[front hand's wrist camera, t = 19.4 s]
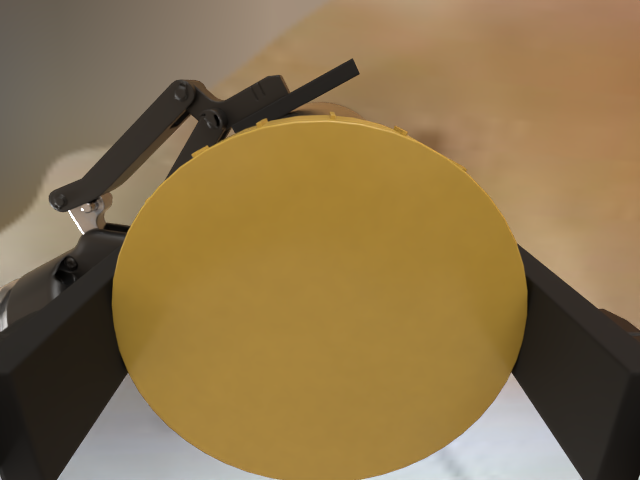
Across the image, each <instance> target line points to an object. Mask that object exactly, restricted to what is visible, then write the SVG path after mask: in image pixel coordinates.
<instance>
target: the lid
mask: <svg viewBox="0 0 640 480" xmlns="http://www.w3.org/2000/svg"><path fill="white" fill-rule="evenodd" d="M407 133H408V132H407V131H405V130H403V129H401V128H399V127H397V126H395V127H394V129H392V128H389V127H386V126H384V125H381V124H378V123H374V122H370V121H365V120H361V119H357V118H352V117H342V116H336V115H335V113H334V112H329V115H310V116H295V117H289V118H284V119H278V120H272V121H269V122H268V121H267V118H266V119H263V120H261V121H259V122H258V123H256V126H253V127H250V128H247V129H244V130H242V131H240V132H238V133H236V134H234V135H232V136H230V137H228V138H226V139H224V140H222V141H220V142H218V143H216V144H215V145H213V146H211V147H208V146H205V147H203V148H202V149H200V150H198V151H196V152H194V153H193V154H192V157H193V158H192V159H191V160H189V161H188V162H187V163H185V164H184V165H182V166H181V167H179V168H178V169H177V170H176V171H175V172H174V173H173V174H172V175H171V176H170V177H168V178H167V179H166V180H165V181H164V182H163V183H162V184H161V185H160V186H159V187H158V188H157V189H156V190H155V192H154V193H153V194H152V195H151V197H149V198H148V199H146V201H145V204H144V205H143V207H142V208H141V209H140V211H139V213H138V215H137V216H136V218H135V220H134V221H133V223H132V225H131V227H130V228H129V230H128V232H127V235H126V237H125V240H124V242H123V245H122V248H121V250H120V253H119V255H118V260H117V265H116V269H115V274H114V278H113V291H112V314H113V323H114V329H115V333H116V338H117V343H118V347H119V351H120V354H121V356H122V359H123V361H124V364H125V366H126V369H127V371H128V373H129V375H130V377H131V379H132V380H133V382H134V384H135V386H136V387H137V389H138V391H139V392H140V394H141V395H142V396H143V398H144V399H145V400H146V402H147V403H148V404H149V406H150V407H151V408H152V410H153V411H154V412H155V413H156V414H157V415H158V416H159V417H160V418H161V419H162V420H163V421H164V422H165V423H166V424H167V425H168V426H169V427H170V428H171V429H172V430H173V431H175V432H176V433H177V434H178V435H180V436H181V437H182V438H183V439H184V440H186V441H187V442H189V443H190V444H192V445H193V446H195V447H196V448H198V449H199V450H201V451H203V452H204V453H206V454H208V455H210V456H212V457H214V458H216V459H218V460H220V461H222V462H224V463H226V464H228V465H231V466H233V467H236V468H239V469H241V470H244V471H246V472H250V473H253V474H257V475H261V476H265V477H268V478H274V479H280V480H361V479H366V478H370V477H374V476H379V475H383V474H386V473H389V472H392V471H395V470H398V469H401V468H404V467H407V466H409V465H411V464H413V463H415V462H418V461H420V460H422V459H424V458H426V457H428V456H430V455H431V454H433V453H435V452H437V451H438V450H440V449H442V448H443V447H445V446H446V445H448V444H449V443H451V442H452V441H453V440H455V439H456V438H457V437H459V436H460V435H461V434H463V433H464V432H465V431H466V430H467V429H468V428H469V427H470V426H471V425H472V424H474V423H475V422H476V421H477V420H478V419H479V418H480V417H481V416H482V414H483V413H484V412H485V411H486V410H487V409H488V407H489V406H490V405H491V404H492V403H493V401H494V400H495V399H496V397H497V396H498V394H499V393H500V391H501V389H502V388H503V386H504V385H505V383H506V382H507V380H508V378H509V376H510V373H511V371H512V369H513V367H514V365H515V363H516V361H517V358H518V354H519V351H520V348H521V345H522V341H523V336H524V331H525V325H526V320H527V284H526V278H525V271H524V265H523V262H522V259H521V255H520V252H519V249H518V246H517V243H516V240H515V238H514V236H513V234H512V232H511V230H510V228H509V226H508V224H507V222H506V220H505V218H504V216H503V215H502V214H501V212H500V211H499V209H498V208H497V207H496V205H495V204H494V202H493V201H492V199H491V198H490V197H489V195H488V194H487V193H486V192H485V191H484V190H483V189H482V188H481V187H480V186H479V185H478V184H477V183H476V182H475V181H474V180H473V179H472V178H471V176H470V175H468V174H467V173H466V171H467V169H466V168H464V167H463V166H461V165H459V164H458V163H456V162H454V161H452V160H451V159H448V158H446V157H445V156H443V155H441V154H440V153H438V152H436V151H435V150H433V149H431V148H429V147H428V146H426V145H424V144H422V143H420V142H419V141H417V140H415V139H413V138H412V137H410V136H408V135H407Z"/></svg>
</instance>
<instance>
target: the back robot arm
mask: <svg viewBox="0 0 640 480" xmlns="http://www.w3.org/2000/svg"><path fill="white" fill-rule="evenodd" d="M357 75H359V71H358V69H357V67H356V65H355V63H354V60H353V58H352V59H350V60H349V61H347V62H345V63H343V64H341V65H340V66H338V67H336V68H334V69H332V70H331V71H329V72H327V73H325V74H323V75H322V76H320V77H318V78H316V79H314V80H313V81H311V82H309V83H307V84H305V85H304V86H302V87H300V88H298V89H296V90H295V91H293V92H291V93H290V91H289V89H288V87H287V85H286V83H285V81H284V79H283V77H282V76H281V75H275V76H268V77H266V78H264V79H262V80H260V81H259V82H257V83H255V84H253V85H252V86H250V87H248V88H246V89H245V90H243V91H241V92H239V93H238V94H236V95H234V96H232V97H231V98H229V99H227V100H225V101H224V100H220V99H218V98H216V97H215V96H214V95H212V94H211V93H210V92H209V91H208V90H207V89H206V87H205V86H204V84H203V83H201V82H200V81H196V80H176V81H174V82H173V83H172V84H171V85H170V86H169V87H168V88H167V89H166V90H165V91H164V92H163V93H162V94H161V95H160V96H159V97H158V98H157V100H156V101H155V102H154V103H153V104H152V105H151V106H150V107H149V108H148V109H147V110H146V111H145V112H144V113H143V114H142V115H141V116H140V118H139V119H138V120H137V121H136V122H135V123H134V124H133V125H132V126H131V127H130V128H129V129H128V130H127V131H126V132H125V133H124V135H123V136H122V137H121V138H120V139H119V140H118V141H117V142H116V143H115V144H114V145H113V146H112V147H111V148H110V149H109V150H108V151H107V153H106V154H105V155H104V156H103V157H102V158H101V159H100V160H99V161H98V162H97V163H96V164H95V165H94V166H93V167H92V168H91V169H90V171H89V172H88V173H87V174H86V175H85V176H84V177H83V178H82V179H80V180H78V181H75V182H73V183H70V184H68V185H66V186H63V187H61V188H59V189H56V190H54V191H52V192H51V193H50V195H49V202H50V205H51V206H52V207H53V208H54V209H55V210H57V211H59V212H67V211H69V213H70V214H71V216H72V218H73V219H74V221H75V222H76V224H77V226H78V227H79V229H80V230H81V232H82V234H83V235H82V236H81V237H80V239H79V241H78V243H77V245H76V246H75V248H73V249H71V250H69V251H68V252H66V253H64V254H62V255H60V256H58V257H56V258H55V259H53V260H51V261H49V262H47V263H45V264H43V265H42V266H40V267H38V268H36V269H34V270H32V271H31V272H29V273H27V274H25V275H24V276H23V277H21V278H19V279H16V280H14V281H12V282H10V283H8V284H6V285H4V286H3V287H1V288H0V332H1V331H2V330H4V329H5V328H6V327H8V326H9V325H10V324H11V323H13V322H14V321H16V320H18V319H20V318H22V317H24V316H26V315H28V314H30V313H33V312H35V311H37V310H41V309H42V308H43V307H45V306H46V305H47V304H48V303H50V302H51V301H52V300H53V299H54V298H56V297H57V296H58V295H59V294H61V293H62V292H63V291H64V290H66V289H67V288H68V287H69V286H71V285H72V284H73V283H74V282H76V281H77V280H78V279H79V278H80V277H82V276H83V275H84V274H85V273H87V272H88V271H89V270H90V269H92V268H93V267H94V266H95V265H97V264H98V263H99V262H100V261H102V260H103V259H104V258H105V257H106V256H108V255H109V254H110V253H111V252H113V251H114V250H115V249H116V248H118V247H119V246H120V245H121V244H123V242H124V240H125V237H126V235H127V232H128V230H129V228H130V227H131V226H127V225H120V224H113V223H106V222H105V220H104V213H105V212H106V210H107V209H109V208H110V207H111V205H112V198H113V197H112V194H111V193H110V191H112V190H114V189H116V188H117V187H119V186H120V185H122V184H123V183H124V182H125V181H126V180H127V179H128V178H129V177H130V176H131V175H132V174H133V173H134V172H135V171H136V170H137V169H138V168H139V167H140V166H141V165H142V164H143V163H144V162H145V161H146V160H147V159H148V158H149V157H150V156H151V155H152V154H153V153H154V152H155V151H156V150H157V149H158V148H159V147H160V146H161V145H162V144H163V143H164V142H165V141H166V140H167V139H168V138H169V137H170V136H171V135H172V134H173V133H174V132H175V131H176V129H177V128H178V127H179V126H180V125H181V124H182V123H183V122H184V121H185V120H186V119H187V118H188V117H189V116H190V115H192V116H193V117H195V118H196V119H197V120H198V121H199V122H198V123H197V125H196V127H195V129H194V130H193V132H192V134H191V136H190V137H189V139H188V141H187V143H186V144H185V146H184V148H183V150H182V151H181V153H180V155H179V157H178V158H177V160H176V162H175V164H174V165H173V167H172V169H171V170H170V172H169V174H168V176H167V177H166V179H167V178H168V177H170V176H171V175H172V174H173V173H174V172H175V171H176V170H177V169H178V168H179V167H181V166H182V165H184V164H185V163H187V162H188V161H189V160H191V159H192V158H193V157H192V154H193V153H194V152H196V151H198V150H200V149H202V148H203V147H205V146H208V147H211V146H213V145H215V144H216V143H218V142H220V141H222V140H224V139H225V138H226V137H227V135H228V133H229V132H230V130H231V128H232V129H233V130H234V132H235V134H236V133H238V132H240V131H242V130H244V129H247V128H250V127H253V126H256V123H258V122H259V121H261V120H263V119H266V118H267V121H268V122H269V121H272V120H277V119H278V118H280V117H282V116H284V115H286V114H287V113H289V112H291V111H293V110H295V109H297V108H298V107H300V106H302V105H304V104H306V103H308V102H309V101H311V100H313V99H315V98H317V97H319V96H320V95H322V94H324V93H326V92H328V91H330V90H331V89H333V88H335V87H337V86H339V85H341V84H342V83H344V82H346V81H348V80H350V79H352V78H353V77H355V76H357ZM166 179H165V180H166Z"/></svg>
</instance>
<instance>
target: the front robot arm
mask: <svg viewBox="0 0 640 480" xmlns="http://www.w3.org/2000/svg"><path fill="white" fill-rule="evenodd" d="M122 245H123V244H121V245H120V246H119V247H118V248H116V249H115V250H114V251H113V252H111V253H110V254H109V255H108V256H106V257H105V258H104V259H103V260H102V261H100V262H99V263H98V264H97V265H95V266H94V267H93V268H92V269H90V270H89V271H88V272H87V273H85V274H84V275H83V276H82V277H80V278H79V279H78V280H77V281H76V282H74V283H73V284H72V285H71V286H69V287H68V288H67V289H66V290H64V291H63V292H62V293H61V294H59V295H58V296H57V297H56V298H54V299H53V300H52V301H51V302H50V303H48V304H47V305H46V306H45V307H43V308H42V309H41V310H37V311H35V312H33V313H30V314H28V315H26V316H24V317H22V318H20V319H18V320H16V321H14V322H13V323H11V324H10V325H9V326H8V327H6V328H5V329H4V330H2V331H1V332H0V476H1V479H2V480H57V479H58V477H59V475H60V474H61V472H62V471H63V469H64V468H65V466H66V465H67V463H68V462H69V460H70V459H71V457H72V456H73V454H74V453H75V451H76V450H77V448H78V447H79V445H80V444H81V442H82V441H83V439H84V438H85V436H86V435H87V433H88V432H89V430H90V429H91V427H92V426H93V424H94V423H95V421H96V420H97V418H98V417H99V415H100V414H101V412H102V411H103V409H104V408H105V406H106V405H107V403H108V402H109V400H110V399H111V397H112V396H113V394H114V393H115V391H116V390H117V388H118V387H119V385H120V384H121V382H122V381H123V379H124V378H125V376H126V375H127V373H128V371H127V369H126V366H125V364H124V361H123V359H122V356H121V354H120V351H119V347H118V343H117V338H116V333H115V329H114V323H113V314H112V291H113V278H114V274H115V269H116V265H117V260H118V255H119V253H120V250H121V248H122ZM517 246H518V249H519V252H520V255H521V259H522V262H523V265H524V271H525V278H526V284H527V320H526V325H525V331H524V336H523V341H522V345H521V348H520V351H519V354H518V358H517V361H516V363H515V365H514V367H513V369H512V371H511V372H512V374H513V375H514V377H515V378H516V380H517V381H518V383H519V384H520V386H521V387H522V389H523V390H524V392H525V393H526V395H527V396H528V398H529V399H530V401H531V402H532V404H533V405H534V407H535V408H536V410H537V411H538V413H539V414H540V416H541V417H542V419H543V420H544V422H545V423H546V425H547V426H548V428H549V429H550V431H551V432H552V434H553V435H554V437H555V438H556V440H557V441H558V443H559V444H560V446H561V447H562V449H563V450H564V452H565V453H566V455H567V456H568V458H569V459H570V461H571V462H572V464H573V465H574V467H575V468H576V470H577V471H578V473H579V474H580V476H581V477H582V479H583V480H638V478H639V475H640V330H638V329H637V328H636V327H635V326H633V325H632V324H631V323H629V322H628V321H627V320H625V319H623V318H621V317H619V316H617V315H615V314H613V313H611V312H609V311H607V310H605V309H598V308H596V307H595V306H594V305H593V304H591V303H590V302H589V301H588V300H586V299H585V298H584V297H583V296H581V295H580V294H579V293H578V292H577V291H575V290H574V289H573V288H572V287H570V286H569V285H568V284H567V283H565V282H564V281H563V280H562V279H560V278H559V277H558V276H557V275H556V274H554V273H553V272H552V271H551V270H549V269H548V268H547V267H546V266H544V265H543V264H542V263H541V262H539V261H538V260H537V259H536V258H534V257H533V256H532V255H531V254H530V253H528V252H527V251H526V250H525V249H523V248H522V247H521V246H520V245H518V244H517Z"/></svg>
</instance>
